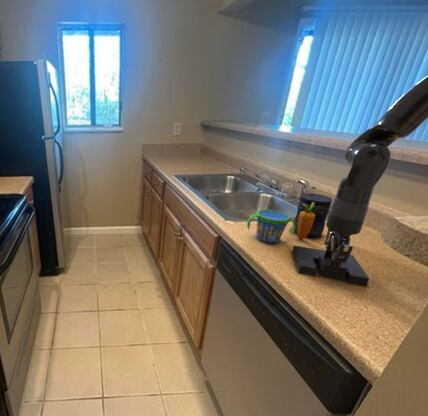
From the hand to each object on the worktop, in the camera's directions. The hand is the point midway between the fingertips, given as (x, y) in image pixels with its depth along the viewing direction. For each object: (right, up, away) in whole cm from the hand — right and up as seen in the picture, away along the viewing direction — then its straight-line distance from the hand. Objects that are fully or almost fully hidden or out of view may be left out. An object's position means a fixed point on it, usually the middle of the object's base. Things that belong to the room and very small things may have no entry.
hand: (330, 265), depth 82 cm
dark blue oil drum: (+12, +7, +26) cm, 30 cm away
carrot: (+6, +5, +21) cm, 22 cm away
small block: (0, -2, +1) cm, 3 cm away
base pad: (+2, -1, +4) cm, 4 cm away
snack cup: (-6, +5, +22) cm, 23 cm away
